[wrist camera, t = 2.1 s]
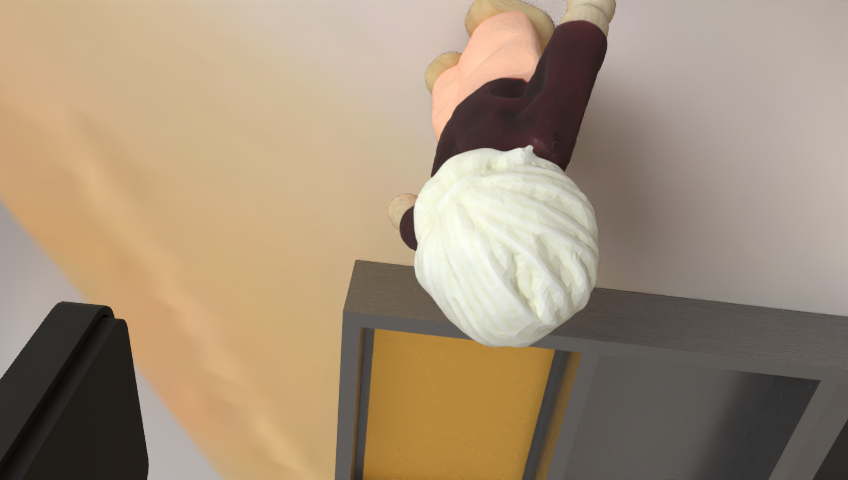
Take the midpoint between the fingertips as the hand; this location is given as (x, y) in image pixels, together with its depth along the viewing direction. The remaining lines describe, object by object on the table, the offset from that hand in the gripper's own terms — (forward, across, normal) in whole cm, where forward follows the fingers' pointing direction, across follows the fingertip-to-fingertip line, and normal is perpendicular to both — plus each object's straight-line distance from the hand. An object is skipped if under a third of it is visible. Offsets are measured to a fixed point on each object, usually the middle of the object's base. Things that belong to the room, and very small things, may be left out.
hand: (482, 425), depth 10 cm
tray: (+15, -9, +16) cm, 24 cm away
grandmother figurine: (+16, -1, 0) cm, 16 cm away
